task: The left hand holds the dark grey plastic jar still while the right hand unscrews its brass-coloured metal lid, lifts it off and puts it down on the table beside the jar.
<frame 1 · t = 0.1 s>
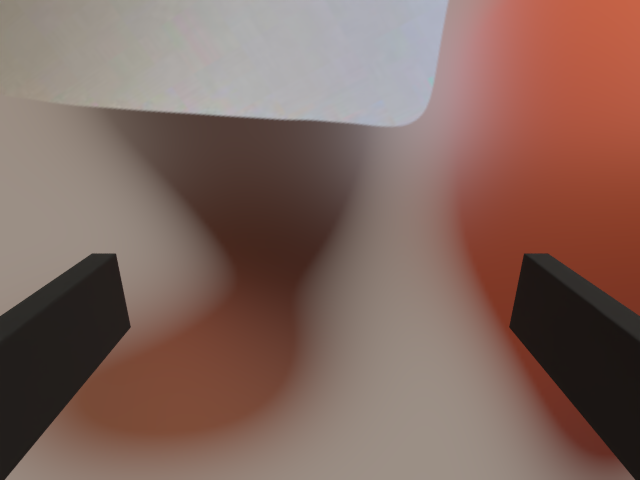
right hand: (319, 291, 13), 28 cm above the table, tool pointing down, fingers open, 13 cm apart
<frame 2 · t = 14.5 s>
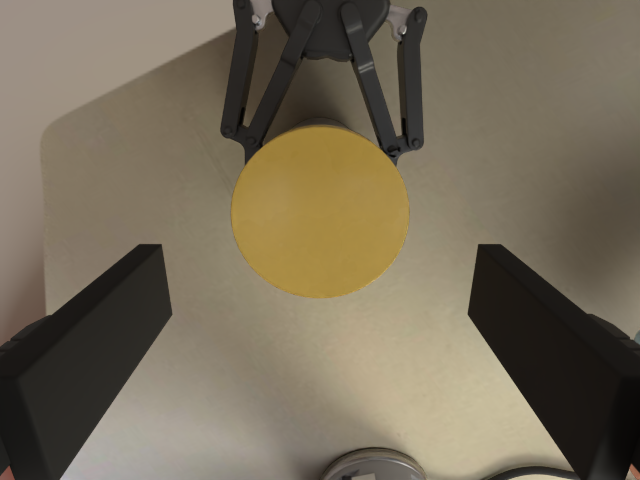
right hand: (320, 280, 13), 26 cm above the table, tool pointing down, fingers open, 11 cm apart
left hand: (316, 227, 33), fingers closed on jar, 8 cm apart
lid: (320, 217, 20), point 19 cm above the table, screwed on, not yet turned
jar: (320, 161, 38), on the table, touching left hand
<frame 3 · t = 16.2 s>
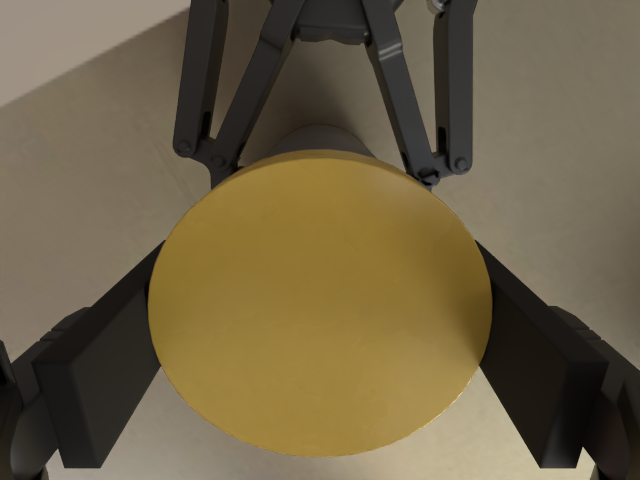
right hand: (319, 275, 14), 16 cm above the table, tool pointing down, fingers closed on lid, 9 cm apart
left hand: (315, 278, 24), fingers closed on jar, 8 cm apart
lid: (320, 323, 11), point 19 cm above the table, screwed on, not yet turned, touching right hand
jar: (320, 183, 29), on the table, touching left hand
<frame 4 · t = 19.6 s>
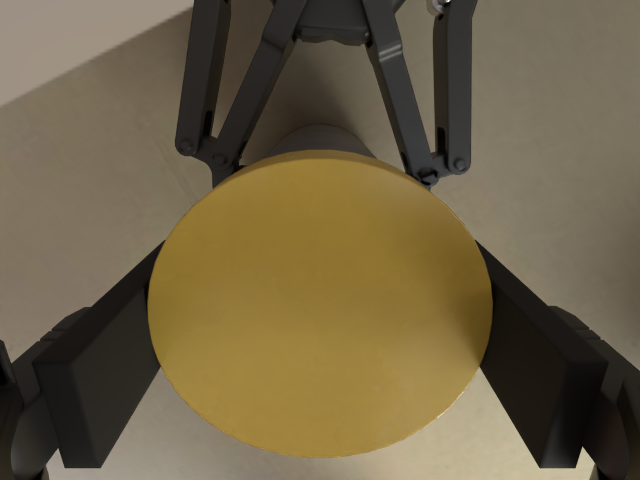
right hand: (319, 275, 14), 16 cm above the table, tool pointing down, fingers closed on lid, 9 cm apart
left hand: (315, 276, 24), fingers closed on jar, 8 cm apart
lid: (320, 324, 11), point 19 cm above the table, turned 97° so far, risen 0.3 cm, still on its thread, touching right hand
jar: (320, 182, 29), on the table, touching left hand
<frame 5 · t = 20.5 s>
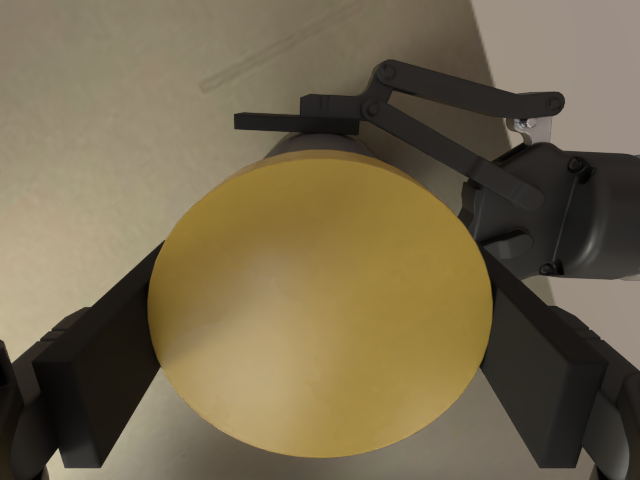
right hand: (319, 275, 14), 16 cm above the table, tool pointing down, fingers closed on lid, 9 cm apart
left hand: (241, 200, 23), fingers closed on jar, 8 cm apart
lid: (320, 324, 11), point 20 cm above the table, off its thread, touching right hand
jar: (320, 181, 29), on the table, touching left hand
when the right hand's fingers open (0 cm above the table, at t = 26.1 s): lid drops 2 cm, point 1 cm above the table.
when the left hand's fingers open (7 cm above the table, at t = 27.9 s): jar stays where it is, on the table.
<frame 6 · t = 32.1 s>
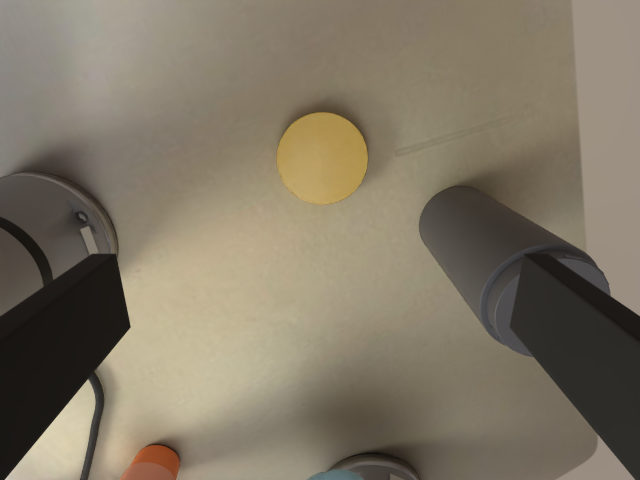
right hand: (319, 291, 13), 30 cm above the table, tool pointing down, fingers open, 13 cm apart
cup with straw: (159, 458, 56), on the table
lid: (322, 159, 39), point 1 cm above the table, off its thread
jar: (456, 223, 43), on the table
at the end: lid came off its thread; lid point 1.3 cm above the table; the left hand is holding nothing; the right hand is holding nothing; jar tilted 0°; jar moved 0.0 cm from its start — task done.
